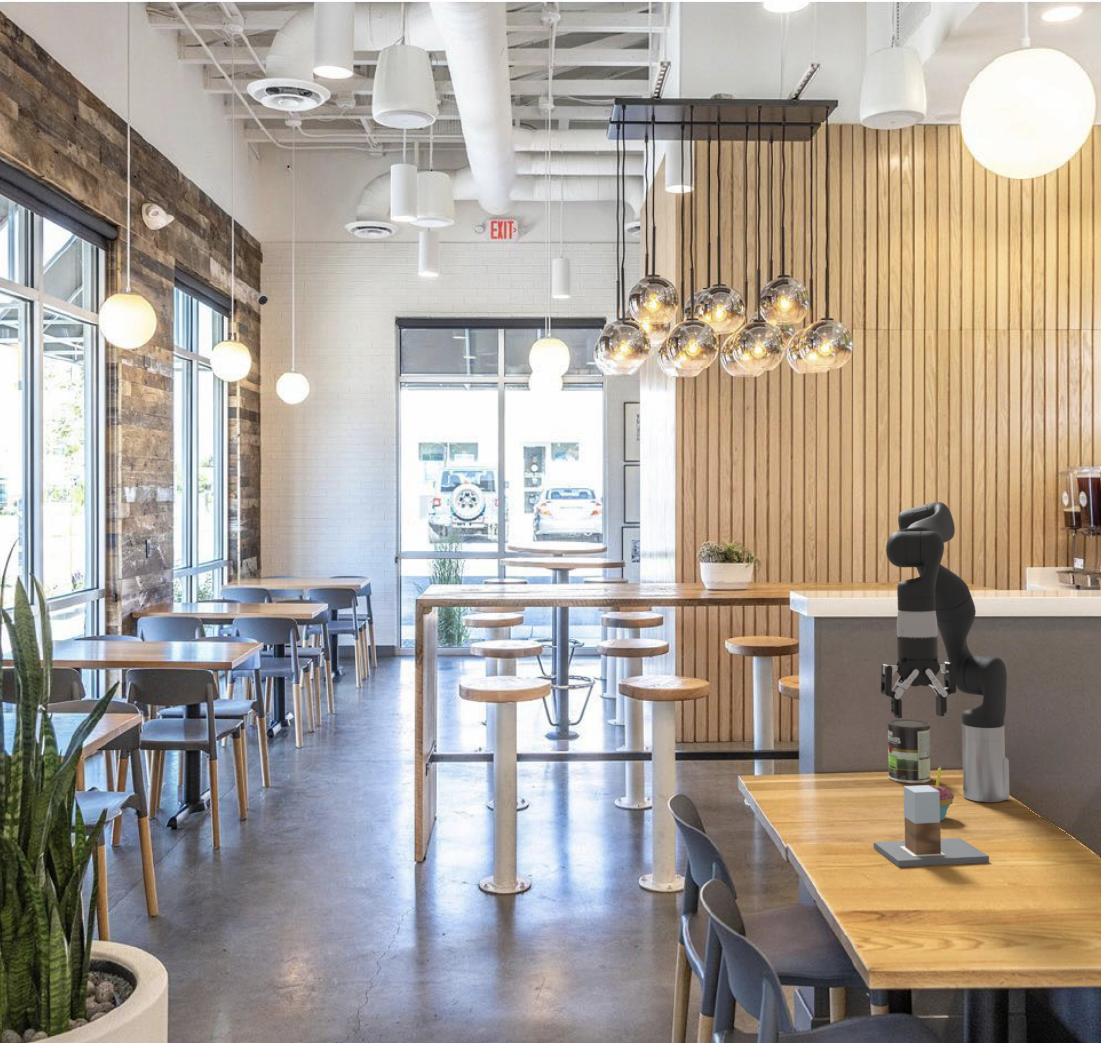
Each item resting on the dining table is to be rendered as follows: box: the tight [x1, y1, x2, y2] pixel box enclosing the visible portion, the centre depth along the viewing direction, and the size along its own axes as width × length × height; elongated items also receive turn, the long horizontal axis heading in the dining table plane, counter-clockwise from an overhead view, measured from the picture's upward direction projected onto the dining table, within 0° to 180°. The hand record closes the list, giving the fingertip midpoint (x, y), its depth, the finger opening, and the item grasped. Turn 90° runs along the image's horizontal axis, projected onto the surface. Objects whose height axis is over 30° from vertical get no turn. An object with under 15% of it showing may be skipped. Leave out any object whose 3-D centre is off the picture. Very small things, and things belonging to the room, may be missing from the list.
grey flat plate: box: [873, 837, 990, 868], centre depth 214 cm, size 18×12×1 cm, turn 95°
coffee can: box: [886, 718, 932, 784], centre depth 276 cm, size 10×10×14 cm
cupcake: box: [928, 764, 954, 821], centre depth 240 cm, size 9×8×12 cm
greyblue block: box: [903, 784, 941, 824], centre depth 213 cm, size 5×5×6 cm
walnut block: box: [904, 817, 942, 855], centre depth 213 cm, size 5×5×6 cm
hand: (919, 716), depth 213 cm, fingers open, 8 cm apart
